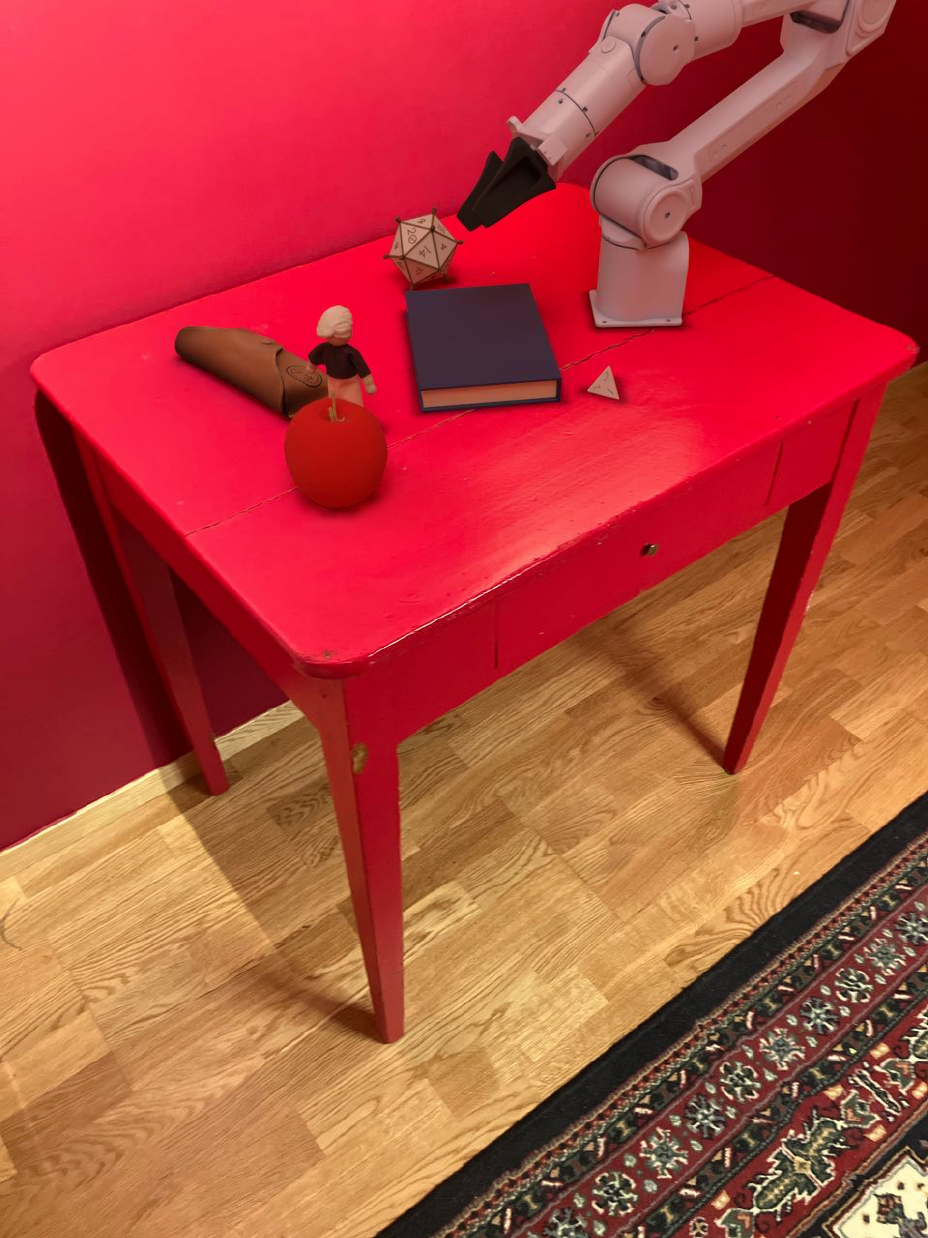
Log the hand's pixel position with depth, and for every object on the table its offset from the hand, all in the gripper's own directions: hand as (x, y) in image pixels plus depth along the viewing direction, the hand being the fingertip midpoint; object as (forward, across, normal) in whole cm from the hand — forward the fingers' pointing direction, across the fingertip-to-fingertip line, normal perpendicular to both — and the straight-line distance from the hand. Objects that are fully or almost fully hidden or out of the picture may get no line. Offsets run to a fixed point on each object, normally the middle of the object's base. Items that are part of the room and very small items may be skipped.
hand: (470, 222), depth 97 cm
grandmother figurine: (+22, +2, +5) cm, 23 cm away
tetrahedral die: (+1, +1, +21) cm, 21 cm away
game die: (+4, -24, +4) cm, 24 cm away
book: (+7, -7, +11) cm, 15 cm away
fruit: (+26, +10, +7) cm, 29 cm away
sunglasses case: (+25, -9, -4) cm, 27 cm away
